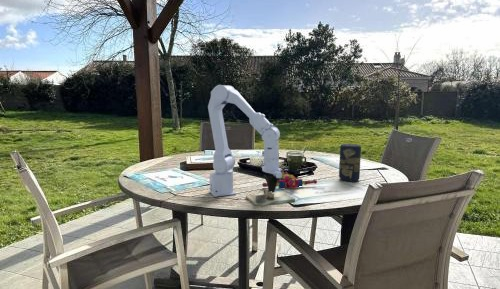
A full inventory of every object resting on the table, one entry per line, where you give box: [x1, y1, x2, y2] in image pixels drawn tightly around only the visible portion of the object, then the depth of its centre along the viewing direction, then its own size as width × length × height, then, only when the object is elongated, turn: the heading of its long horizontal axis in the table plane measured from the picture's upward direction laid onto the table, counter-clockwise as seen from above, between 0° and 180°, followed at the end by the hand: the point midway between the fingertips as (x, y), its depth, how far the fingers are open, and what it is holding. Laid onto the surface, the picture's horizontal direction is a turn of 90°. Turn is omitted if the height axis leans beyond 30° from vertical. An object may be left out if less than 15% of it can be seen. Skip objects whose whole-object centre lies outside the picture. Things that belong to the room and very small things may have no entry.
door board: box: [245, 191, 296, 207], centre depth 141 cm, size 16×11×4 cm
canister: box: [338, 142, 362, 182], centre depth 171 cm, size 10×10×18 cm
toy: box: [261, 166, 318, 190], centre depth 166 cm, size 25×6×30 cm
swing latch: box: [262, 187, 274, 199], centre depth 141 cm, size 9×3×2 cm, turn 11°
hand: (271, 192), depth 144 cm, fingers closed, pressing on swing latch
